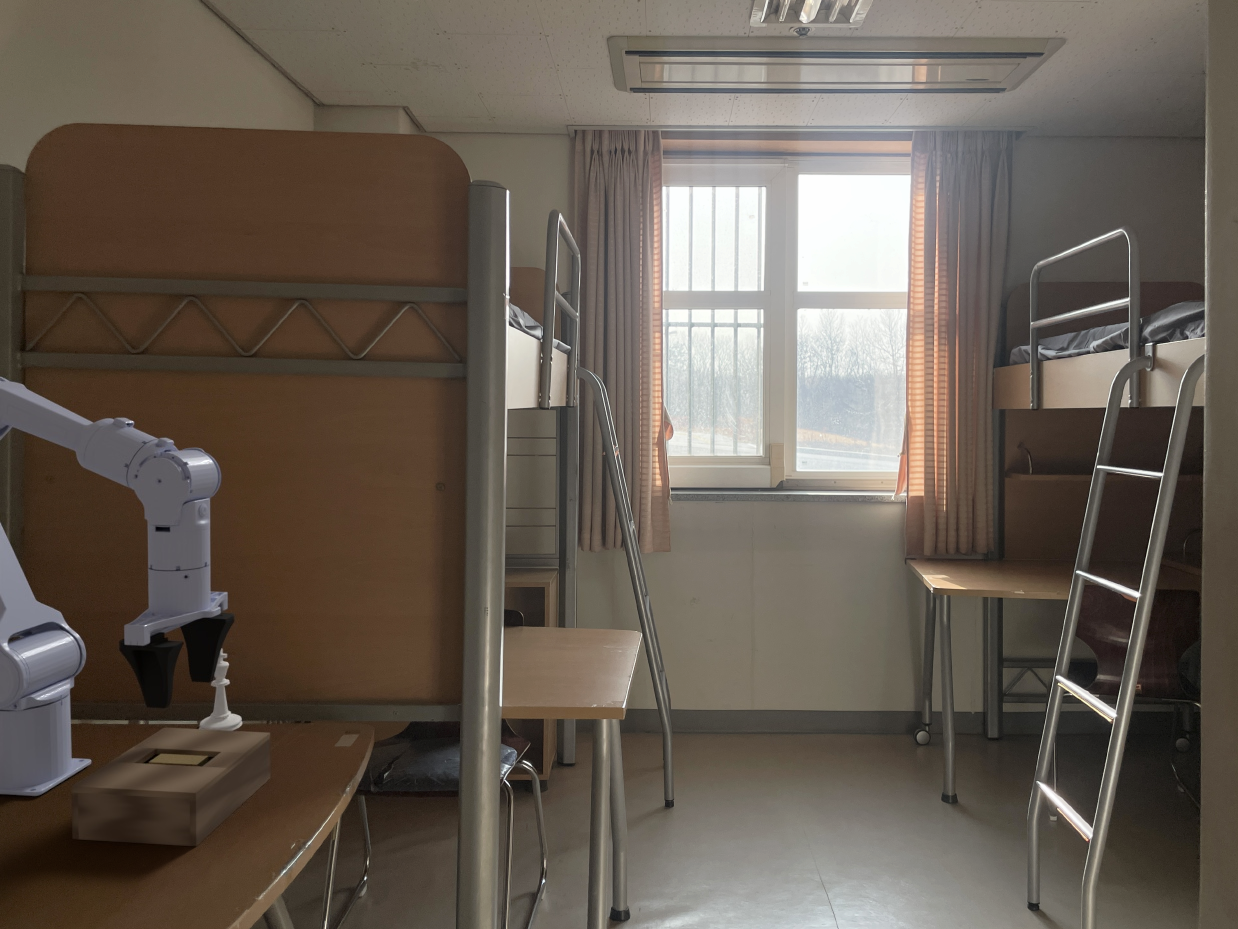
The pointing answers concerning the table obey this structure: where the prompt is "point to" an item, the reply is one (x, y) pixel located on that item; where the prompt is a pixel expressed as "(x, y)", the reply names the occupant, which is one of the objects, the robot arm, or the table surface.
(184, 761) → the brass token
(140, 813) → the beige block with hole
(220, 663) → the chess piece
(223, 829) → the table surface
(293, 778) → the table surface
